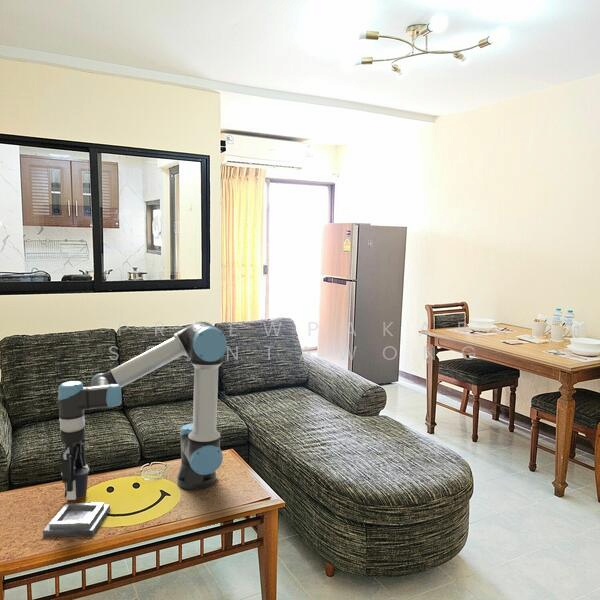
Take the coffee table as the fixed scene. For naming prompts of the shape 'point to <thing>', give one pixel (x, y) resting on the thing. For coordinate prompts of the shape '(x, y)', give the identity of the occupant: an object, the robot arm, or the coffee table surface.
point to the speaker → (79, 482)
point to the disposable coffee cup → (85, 490)
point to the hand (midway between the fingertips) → (75, 494)
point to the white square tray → (77, 519)
